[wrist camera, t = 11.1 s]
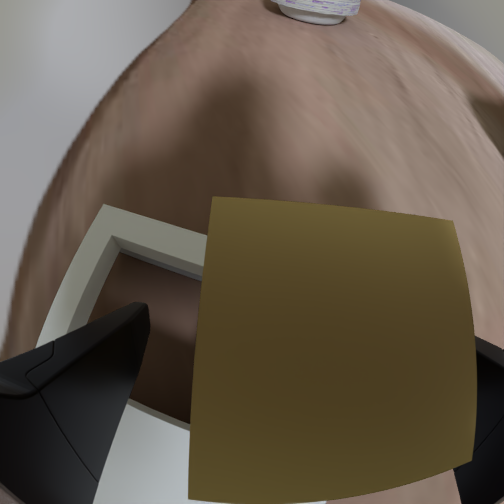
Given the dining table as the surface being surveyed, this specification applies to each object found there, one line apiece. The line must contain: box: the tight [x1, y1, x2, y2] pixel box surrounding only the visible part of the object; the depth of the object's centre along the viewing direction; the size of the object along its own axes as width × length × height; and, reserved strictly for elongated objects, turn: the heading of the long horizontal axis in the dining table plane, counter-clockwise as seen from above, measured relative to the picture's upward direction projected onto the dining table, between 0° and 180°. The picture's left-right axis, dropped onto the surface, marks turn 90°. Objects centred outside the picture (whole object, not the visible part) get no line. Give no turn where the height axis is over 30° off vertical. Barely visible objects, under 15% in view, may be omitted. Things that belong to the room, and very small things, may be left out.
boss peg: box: [188, 196, 477, 504], centre depth 9 cm, size 6×6×13 cm
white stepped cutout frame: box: [36, 204, 326, 504], centre depth 12 cm, size 15×15×4 cm
